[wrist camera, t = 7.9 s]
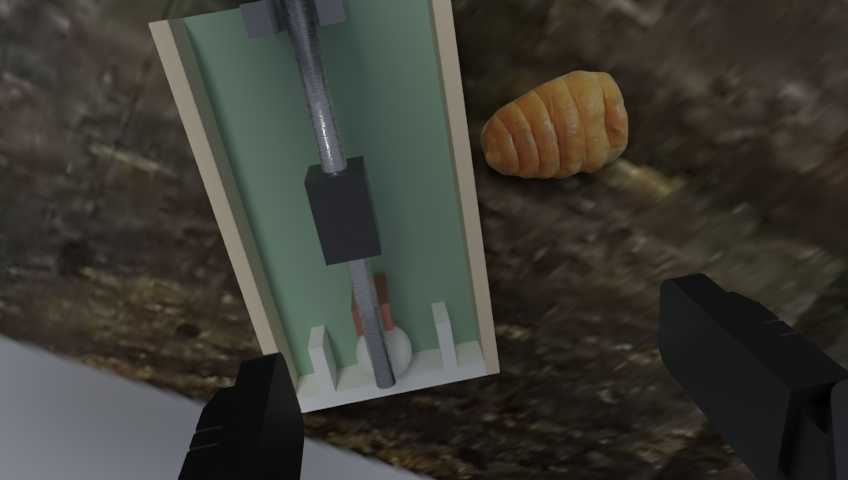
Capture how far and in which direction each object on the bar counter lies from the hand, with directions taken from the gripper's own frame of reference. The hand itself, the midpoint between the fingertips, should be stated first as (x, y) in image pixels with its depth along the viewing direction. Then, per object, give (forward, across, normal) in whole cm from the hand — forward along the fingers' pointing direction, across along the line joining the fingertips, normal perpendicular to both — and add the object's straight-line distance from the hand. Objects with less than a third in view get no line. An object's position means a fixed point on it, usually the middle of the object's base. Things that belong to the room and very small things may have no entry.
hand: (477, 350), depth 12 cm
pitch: (+27, +4, +6) cm, 28 cm away
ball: (+24, +4, +16) cm, 29 cm away
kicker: (+25, +4, +5) cm, 26 cm away
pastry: (+27, -11, +3) cm, 30 cm away
